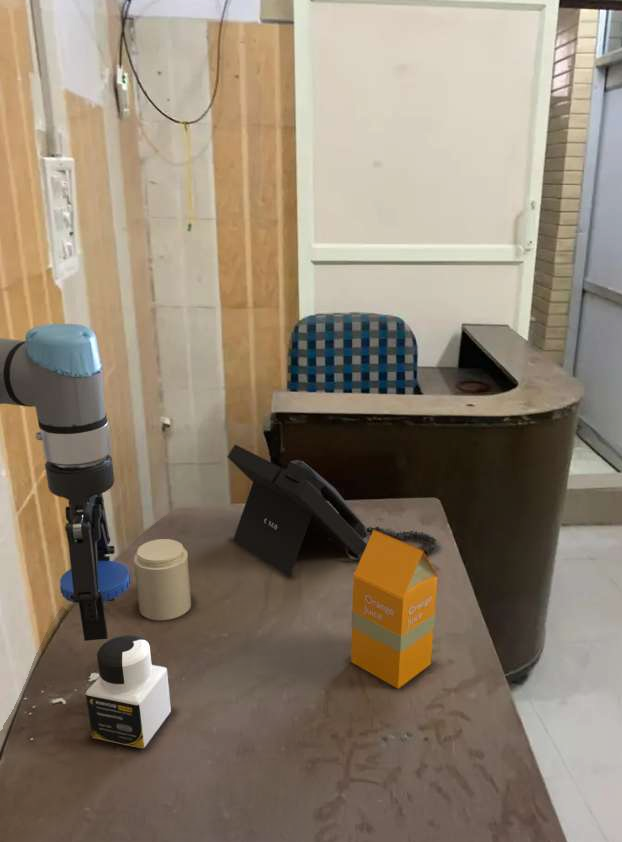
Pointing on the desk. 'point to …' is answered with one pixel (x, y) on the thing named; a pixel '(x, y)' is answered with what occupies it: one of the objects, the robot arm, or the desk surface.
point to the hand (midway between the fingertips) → (100, 618)
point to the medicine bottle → (127, 693)
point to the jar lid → (101, 581)
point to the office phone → (298, 512)
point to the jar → (162, 579)
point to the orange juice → (393, 610)
